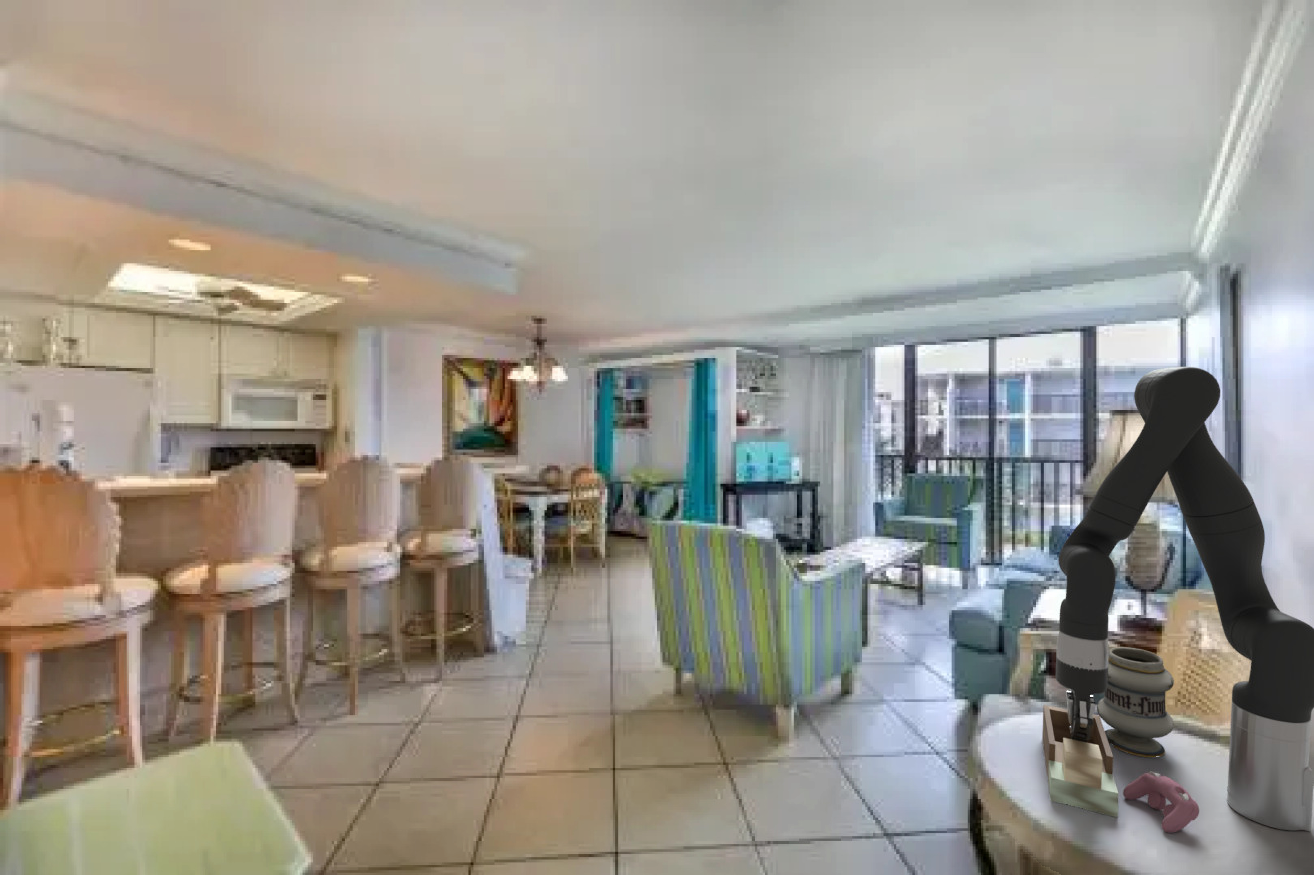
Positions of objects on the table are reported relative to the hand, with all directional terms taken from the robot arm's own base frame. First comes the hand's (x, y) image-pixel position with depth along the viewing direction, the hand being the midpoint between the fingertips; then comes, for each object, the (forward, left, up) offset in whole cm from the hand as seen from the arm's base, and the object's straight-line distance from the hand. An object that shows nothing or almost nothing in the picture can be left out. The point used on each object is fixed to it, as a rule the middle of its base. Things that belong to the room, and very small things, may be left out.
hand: (1078, 755), depth 111 cm
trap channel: (0, -4, -5) cm, 6 cm away
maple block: (0, +5, -1) cm, 5 cm away
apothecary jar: (-11, -21, -5) cm, 25 cm away
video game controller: (-11, +3, -5) cm, 13 cm away
